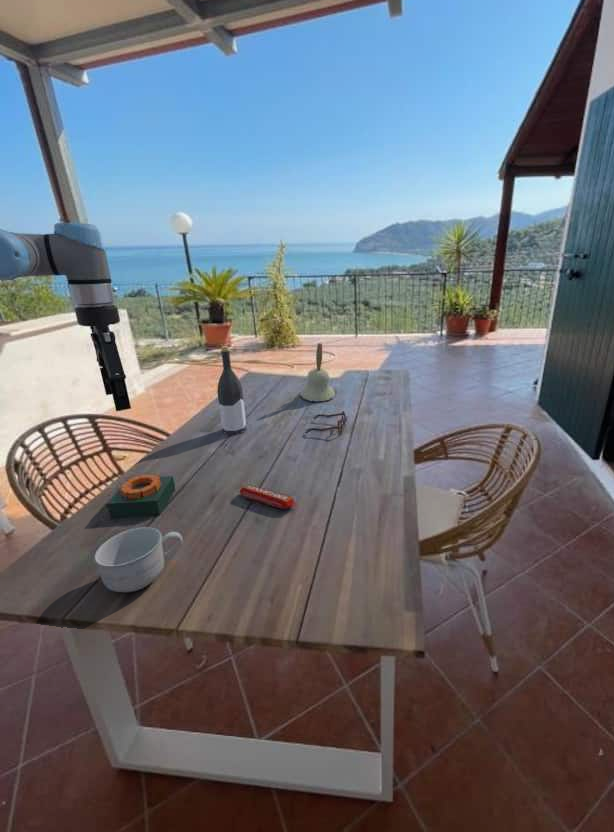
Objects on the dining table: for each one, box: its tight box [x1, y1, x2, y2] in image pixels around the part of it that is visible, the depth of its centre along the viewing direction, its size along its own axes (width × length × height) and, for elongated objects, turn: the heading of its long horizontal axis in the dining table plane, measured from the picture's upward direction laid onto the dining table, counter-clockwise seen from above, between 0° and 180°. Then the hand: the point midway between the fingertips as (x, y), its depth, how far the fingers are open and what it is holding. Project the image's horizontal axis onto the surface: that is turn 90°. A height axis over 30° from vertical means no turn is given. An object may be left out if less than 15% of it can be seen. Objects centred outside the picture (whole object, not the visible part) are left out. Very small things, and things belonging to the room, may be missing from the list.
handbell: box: [299, 342, 336, 402], centre depth 164 cm, size 15×15×25 cm
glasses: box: [304, 410, 347, 435], centre depth 137 cm, size 13×13×5 cm
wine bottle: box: [216, 345, 247, 435], centre depth 132 cm, size 8×8×30 cm
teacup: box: [94, 526, 184, 593], centre depth 72 cm, size 14×11×8 cm
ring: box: [119, 474, 161, 499], centre depth 94 cm, size 8×8×2 cm
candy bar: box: [238, 484, 297, 510], centre depth 96 cm, size 16×4×3 cm, turn 64°
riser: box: [106, 475, 176, 519], centre depth 95 cm, size 11×11×4 cm
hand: (118, 401), depth 88 cm, fingers open, 13 cm apart
